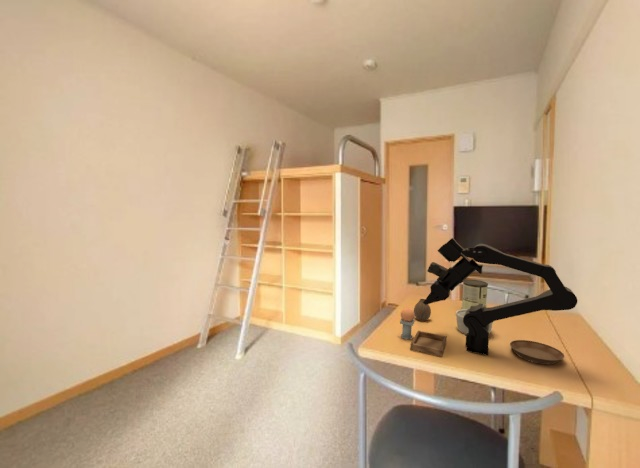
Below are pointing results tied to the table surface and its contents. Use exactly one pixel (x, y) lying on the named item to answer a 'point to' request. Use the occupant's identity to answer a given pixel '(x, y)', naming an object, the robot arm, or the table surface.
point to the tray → (429, 343)
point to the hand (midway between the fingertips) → (426, 300)
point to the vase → (422, 311)
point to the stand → (406, 328)
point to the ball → (407, 314)
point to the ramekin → (461, 325)
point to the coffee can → (474, 293)
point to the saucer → (536, 352)
